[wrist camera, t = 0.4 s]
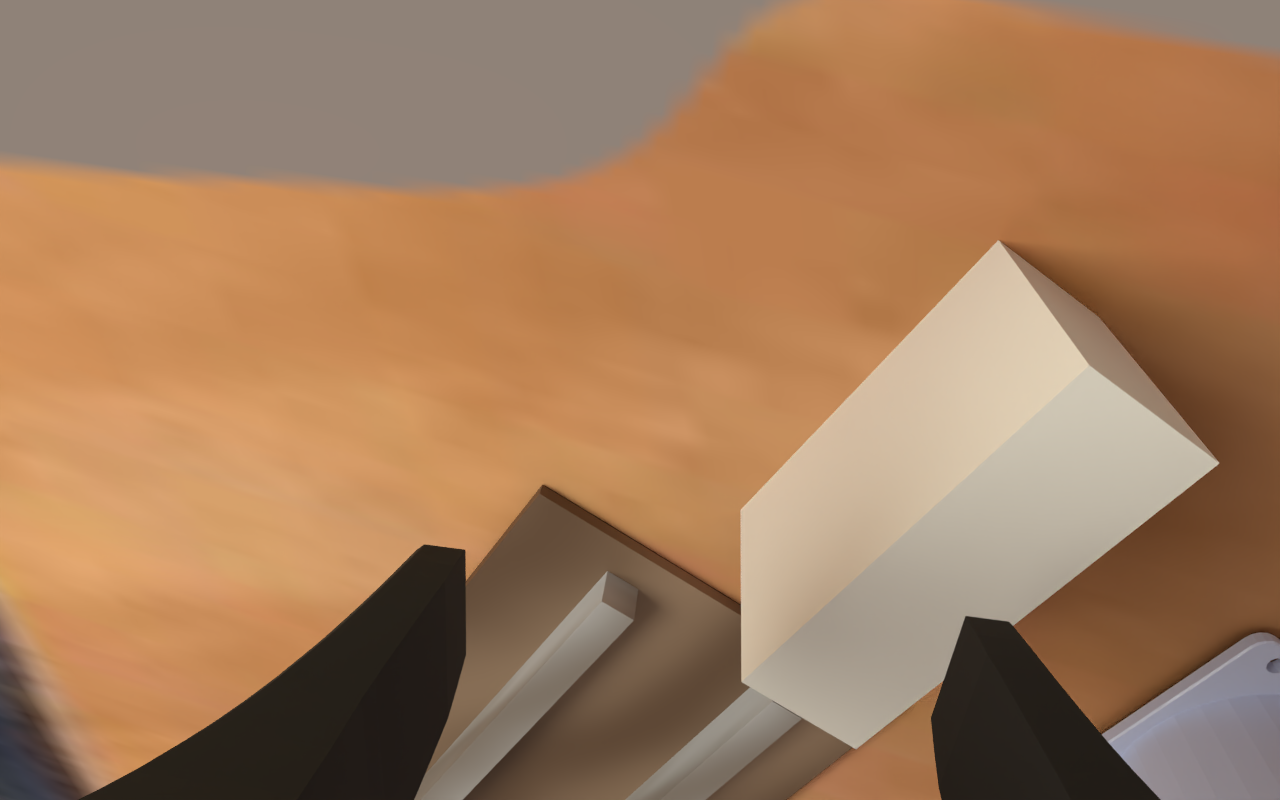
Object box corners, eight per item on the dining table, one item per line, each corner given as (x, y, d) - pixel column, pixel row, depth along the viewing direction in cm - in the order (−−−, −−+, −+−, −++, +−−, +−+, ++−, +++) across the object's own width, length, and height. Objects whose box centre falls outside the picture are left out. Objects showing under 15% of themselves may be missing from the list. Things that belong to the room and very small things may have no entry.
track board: (896, 699, 27) (905, 745, 25) (592, 942, 34) (586, 988, 32) (542, 485, 24) (530, 521, 23) (295, 796, 31) (274, 839, 30)
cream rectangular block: (1097, 315, 21) (1219, 463, 15) (831, 565, 25) (856, 749, 19) (997, 238, 20) (1089, 365, 15) (740, 507, 24) (741, 682, 19)
